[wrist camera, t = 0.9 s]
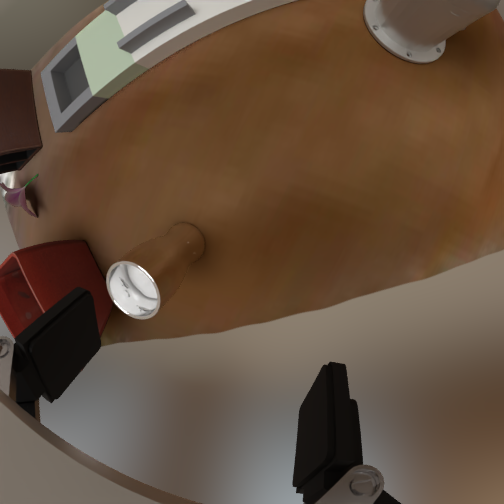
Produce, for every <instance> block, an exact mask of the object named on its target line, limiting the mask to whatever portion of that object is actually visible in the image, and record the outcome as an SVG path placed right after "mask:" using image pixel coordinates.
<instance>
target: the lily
mask: <svg viewBox="0 0 504 504" xmlns="http://www.w3.org/2000/svg"><path fill="white" fill-rule="evenodd" d="M37 176H38V174H37V175H36V176H35V177H37ZM35 177H33V178H32V179H31V180H30V181H29V182H28V183H27V184H26V185H25V186H24V187H23V188H17V189H10V188H7V187H6V186H5V184H4V183H3V182H2V184H1V183H0V186H1V187H2V188H3V189H4V190H5V191H7V193H6V194H5V200H6V201H7V202H8V203H9V204H11V205H12V206H14V207H19V206H21V207H22V208H23V209H24V210H25V211H26V212H27V213H29V214H30V215H31V216H34V217H37V216H36V215H35V214H33V213H32V212H31V211H30V210H29V209H28V208H27V203H26V197H25V187H26V186H27V185H28V184H29V183H30V182H31V181H32V180H33V179H34V178H35ZM37 218H38V217H37Z"/></svg>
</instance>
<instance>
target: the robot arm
mask: <svg viewBox="0 0 504 504" xmlns="http://www.w3.org/2000/svg"><path fill="white" fill-rule="evenodd" d="M499 2H500V0H367V1H366V3H365V5H364V9H363V16H364V21H365V23H366V26H367V28H368V30H369V31H370V33H371V34H372V36H373V37H374V38H375V40H376V41H377V42H378V43H379V44H380V45H381V46H383V47H384V48H385V49H386V50H388V51H389V52H390V53H392V54H394V55H395V56H397V57H399V58H401V59H403V60H406V61H409V62H412V63H419V64H423V63H430V62H433V61H434V60H436V59H438V58H439V57H440V56H441V55H442V54H443V52H444V50H445V46H446V39H447V38H449V37H450V36H452V35H454V34H455V33H457V32H458V31H460V30H465V29H466V26H468V25H470V24H471V23H473V22H474V21H476V20H478V19H479V18H481V17H483V16H485V15H486V14H488V13H490V12H492V11H493V10H494V9H495V8H496V7H497V6H498V4H499ZM374 29H375V30H374ZM407 55H408V56H407ZM14 339H15V341H16V343H15V344H13V342H12V340H11V339H10V338H8V337H4V336H1V337H0V504H202V503H198V502H195V501H191V500H188V499H184V498H182V497H178V496H176V495H173V494H170V493H167V492H164V491H162V490H159V489H156V488H154V487H152V486H149V485H147V484H144V483H142V482H140V481H137V480H135V479H133V478H131V477H128V476H126V475H124V474H122V473H120V472H118V471H116V470H114V469H112V468H110V467H108V466H106V465H105V464H103V463H101V462H99V461H97V460H95V459H94V458H92V457H90V456H89V455H87V454H85V453H83V452H81V451H80V450H79V449H77V448H75V447H74V446H72V445H71V444H69V443H68V442H66V441H65V440H63V439H62V438H60V437H59V436H57V435H56V434H54V433H53V432H52V431H50V430H49V429H48V428H46V427H45V426H44V425H42V424H41V423H40V407H39V398H40V397H41V395H42V396H43V397H44V398H45V399H46V400H48V401H49V402H50V403H52V402H53V401H54V400H55V399H58V398H59V397H60V396H61V395H62V393H63V392H64V391H65V390H66V389H67V387H68V386H69V385H70V384H71V382H72V381H73V380H74V379H75V377H76V376H77V375H78V374H79V373H80V372H81V370H82V369H83V368H84V367H85V366H86V364H87V363H88V362H89V361H90V360H91V359H92V357H93V356H94V355H95V354H96V353H97V352H98V350H99V349H100V347H101V339H100V334H99V329H98V324H97V318H96V312H95V305H94V299H93V296H92V295H91V292H90V291H88V290H86V289H84V288H81V287H76V288H75V289H73V290H72V291H71V292H70V293H68V294H67V295H66V296H64V297H63V298H62V299H61V300H59V301H58V302H57V303H56V304H54V305H53V306H52V307H51V308H49V309H48V310H47V311H46V312H45V313H43V314H42V315H41V316H40V317H38V318H37V319H36V320H35V321H34V322H33V323H31V324H30V325H29V326H28V327H27V328H26V329H24V330H23V331H22V332H21V333H20V334H19V335H18V336H16V337H15V338H14ZM293 487H297V489H296V493H301V494H303V502H304V504H401V503H400V502H398V501H397V500H396V499H394V498H393V497H392V496H391V495H389V494H388V493H386V491H384V490H383V488H384V478H383V476H382V474H381V472H380V471H379V470H377V469H376V468H374V467H373V466H370V465H363V456H362V443H361V432H360V424H359V414H358V406H357V402H356V401H355V400H354V399H350V395H349V388H348V378H347V370H346V365H345V364H340V363H335V362H329V364H328V365H323V367H322V368H321V370H320V372H319V374H318V376H317V378H316V380H315V382H314V383H313V385H312V387H311V389H310V391H309V392H308V394H307V396H306V398H305V399H304V401H303V403H302V405H301V407H300V410H299V419H298V432H297V444H296V456H295V465H294V474H293Z"/></svg>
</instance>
